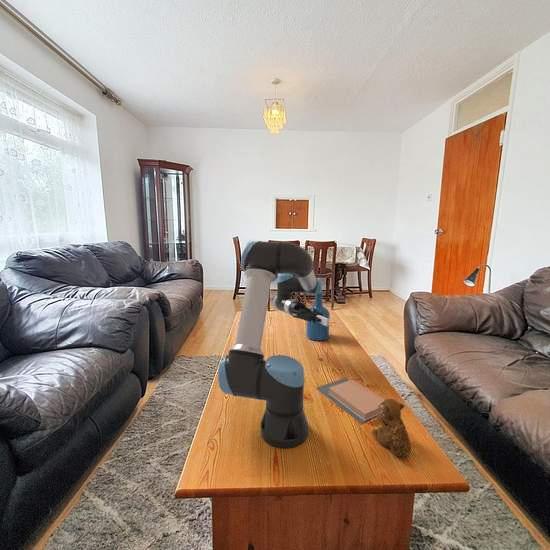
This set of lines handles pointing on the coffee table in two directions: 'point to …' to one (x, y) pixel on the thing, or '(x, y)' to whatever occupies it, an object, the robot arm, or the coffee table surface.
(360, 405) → the tile
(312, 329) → the wine bottle
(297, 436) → the robot arm
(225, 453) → the coffee table surface
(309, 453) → the coffee table surface
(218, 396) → the coffee table surface
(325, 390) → the mat
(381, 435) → the stuffed squirrel
